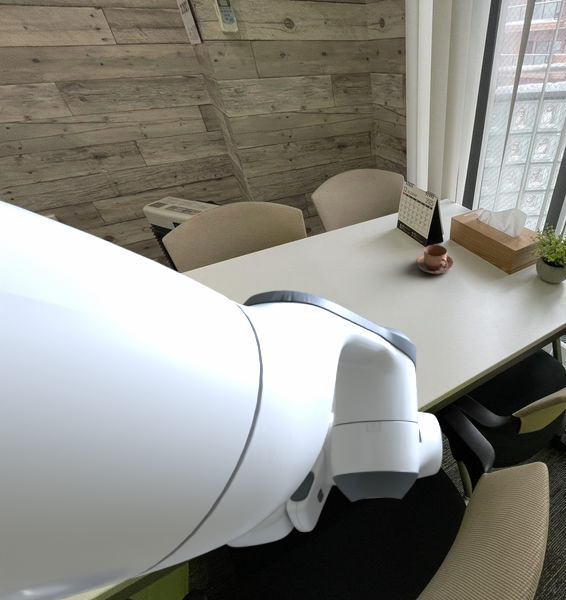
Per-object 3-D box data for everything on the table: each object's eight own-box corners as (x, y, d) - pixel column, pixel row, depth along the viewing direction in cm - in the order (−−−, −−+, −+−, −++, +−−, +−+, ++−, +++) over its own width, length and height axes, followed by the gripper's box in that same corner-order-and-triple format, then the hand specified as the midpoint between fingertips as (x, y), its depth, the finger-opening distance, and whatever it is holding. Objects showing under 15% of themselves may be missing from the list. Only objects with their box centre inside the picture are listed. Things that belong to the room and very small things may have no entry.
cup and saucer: (459, 265, 108) (461, 249, 104) (439, 281, 101) (441, 264, 97) (429, 253, 114) (430, 237, 110) (409, 268, 107) (409, 251, 103)
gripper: (325, 370, 49) (232, 374, 49) (298, 529, 33) (160, 536, 33) (330, 395, 53) (245, 399, 53) (309, 547, 37) (186, 554, 37)
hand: (212, 453), depth 43 cm, fingers open, 8 cm apart
